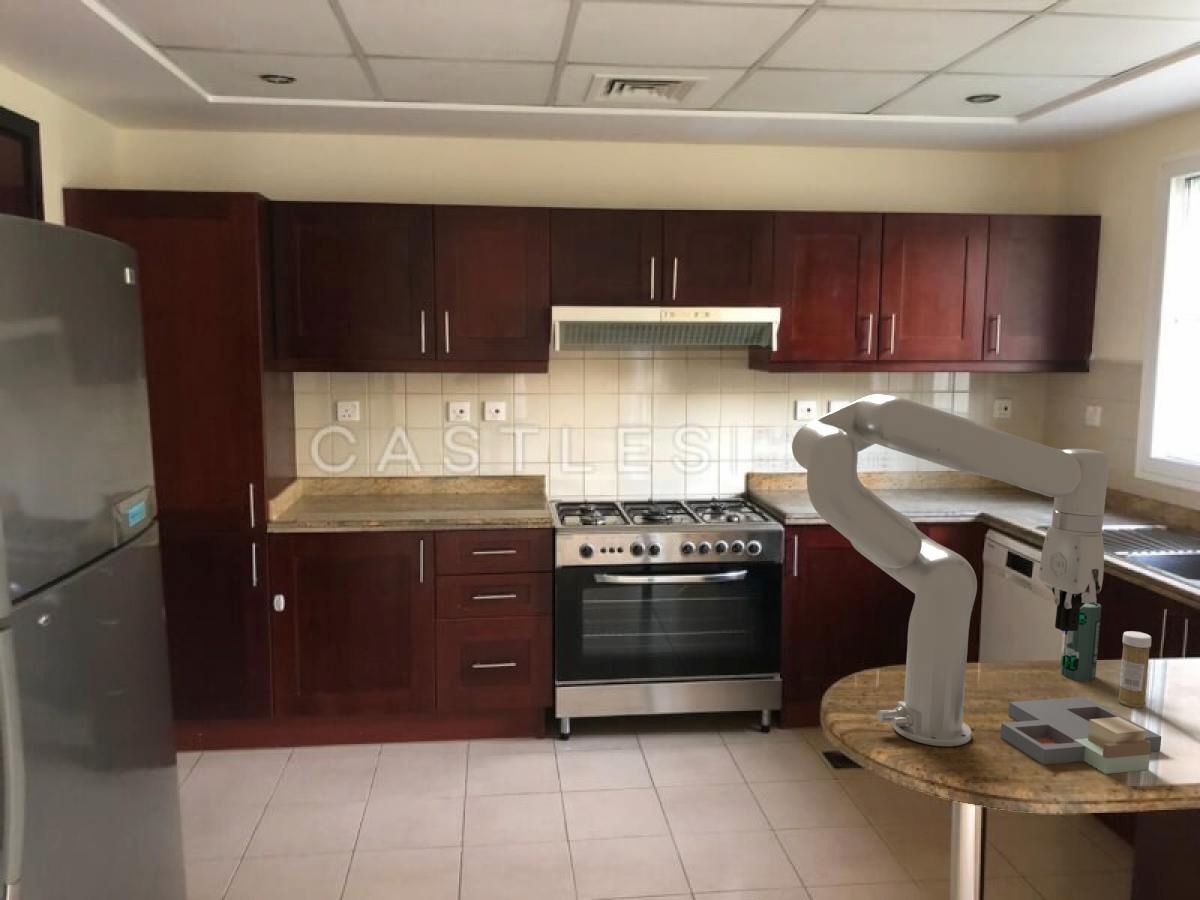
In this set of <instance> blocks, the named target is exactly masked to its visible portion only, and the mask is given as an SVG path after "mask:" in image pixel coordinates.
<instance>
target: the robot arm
mask: <svg viewBox="0 0 1200 900" xmlns="http://www.w3.org/2000/svg"><path fill="white" fill-rule="evenodd" d="M875 444H876V445H879V446H882V447H884V448H887V449H889V450H893V451H897V452H899V453H902V454H906V455H910V456H912V457H916V458H918V459H922V460H925V461H928V462H931V463H933V464H936V465H940V466H943V467H946V468H949V469H953V470H955V471H959V472H962V473H967V474H971V475H977V476H981V477H985V478H990V479H993V480H997V481H1001V482H1003V483H1006V484H1010V485H1013V486H1017V487H1019V488H1021V489H1024V490H1028V491H1030V492H1034V493H1037V494H1040V495H1043V496H1046V497H1050V498H1054V499H1053V510H1052V519H1051V525H1050V526H1048V528H1047V532H1046V534H1045V537H1044V542H1043V545H1042V550H1041V555H1040V561H1039V571H1038V572H1039V573H1038V578H1039V580H1040V581H1041V582H1042V583H1044V586H1045V587H1046V589H1048V590H1050V592H1052V593H1053V596H1054V603H1055V605H1056V614H1055V622H1054V624H1055V625H1054V628H1055V629H1057V630H1059V631H1062V632H1063V631H1077V630H1078V623H1079V613H1080V609H1082V608H1083V606H1084V604H1085V603H1097V594H1099V593H1100V592H1101V590H1102V589H1103V588H1102V586H1103V580H1104V567H1105V549H1104V538H1103V537H1104V536H1103V535H1102V533H1103V525H1104V523H1103V522H1104V515H1105V508H1106V507H1105V506H1106V505H1105V504H1106V496H1107V485H1108V477H1109V468H1110V466H1109V465H1110V459H1109V456H1108V455H1107V453H1105V452H1104V451H1100V450H1096V449H1088V448H1066V449H1061V448H1060V449H1059V448H1054V447H1051V446H1048V445H1046V444H1043V443H1039V442H1036V441H1032V440H1030V439H1026V438H1023V437H1020V436H1016V435H1014V434H1011V433H1007V432H1005V431H1001V430H1000V429H999V430H998V429H997V428H993V427H992V426H989V425H986V424H983V423H981V422H978V421H975V420H973V419H969V418H966V417H963V416H959V415H956V414H953V413H949V412H946V411H944V410H941V409H937V408H934V407H932V406H928V405H925V404H922V403H919V402H916V401H913V400H909V399H906V398H903V397H901V396H895V395H888V394H881V393H875V394H871V395H867V396H865V397H862V398H860V399H857V400H855V401H853V402H851V403H849V404H847V405H845V406H842V407H840V408H838V409H835V410H833V411H831V412H829V413H826V414H824V415H823V416H821V417H818V418H816V419H814V420H811V421H809V422H808V423H806V424H804V425H803V426H802V427H801V428H799V429H798V430H797V432H796V433H795V435H794V436H793V439H792V441H791V450H792V451H791V452H792V455H793V457H794V460H795V461H796V463H798V464H799V466H800V467H803V469H805V470H807V471H806V487H807V492H808V493H807V494H808V497H809V500H810V502H811V504H812V507H813V509H814V510H815V511H816V513H817V514H818V515H819V516H820V517H821V519H823V520H824V521H825V522H826V523H827V524H829V525H830V526H831V527H832V528H833V529H835V530H836V531H837V532H839V533H840V534H841V535H842V536H843V537H844V538H846V539H847V540H848V541H849V542H850V543H851V545H852V547H853V549H855V550H856V551H857V552H858V553H860V554H861V555H862V556H863V557H865V558H866V559H867V560H869V562H871V563H872V564H873V565H875V566H877V567H878V568H879V569H881V570H882V571H883V572H885V573H886V574H887V575H889V576H890V577H892V578H893V580H896V581H897V582H898V583H899V584H901V585H902V586H903V587H905V588H907V589H908V590H909V591H911V592H912V593H913V594H914V596H915V597H914V602H913V605H912V609H911V612H910V616H909V619H908V620H909V621H908V628H907V646H906V647H907V648H906V663H905V665H906V666H905V679H904V691H903V692H904V695H903V698H904V699H903V701H902V700H901V701H898V702H897V706H896V707H893V709H882V710H881V709H880V710H877V711H876V719H877V721H878V722H879V723H884V722H891V725H892V727H893V728H894V731H896V732H897V733H898V734H899V735H901V736H902V737H904V738H906V739H909V740H911V741H913V742H916V743H919V744H924V745H929V746H935V747H957V746H962V745H964V744H967V743H968V742H969V741H971V739H972V728H970V726H969V725H968V724H967V723H965V722H964V721H963V717H964V702H965V689H966V688H965V687H966V674H967V661H968V660H967V659H968V658H967V657H968V646H969V645H968V643H969V633H970V631H969V630H970V622H971V618H972V613H973V612H972V611H973V607H974V604H975V599H976V597H977V596H976V595H977V592H978V580H977V576H976V575H977V574H976V573H975V572H976V571H974V568H973V567H972V565H971V564H970V563H969V561H968V560H967V559H966V558H965V557H963V556H962V555H960V554H959V553H957V552H955V551H954V550H952V549H950V548H948V547H945V546H944V545H942V544H941V543H938V542H936V541H935V540H933V539H931V538H930V537H929V536H927V535H926V534H925V533H923V532H922V531H920V530H919V529H918V528H917V525H916V524H915V523H914V522H913V521H912V520H911V519H910V518H909V517H908V516H907V515H905V514H903V513H902V512H900V511H898V510H896V509H894V508H893V507H892V506H890V505H889V504H887V502H885V501H884V500H882V499H880V498H879V496H877V495H876V494H875V493H874V492H872V491H871V490H870V489H869V488H867V487H866V486H865V485H864V484H863V483H862V482H861V481H860V479H859V475H858V459H859V458H858V457H859V452H861V451H864V450H866V449H867V448H870V447H871V446H873V445H875Z"/></svg>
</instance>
